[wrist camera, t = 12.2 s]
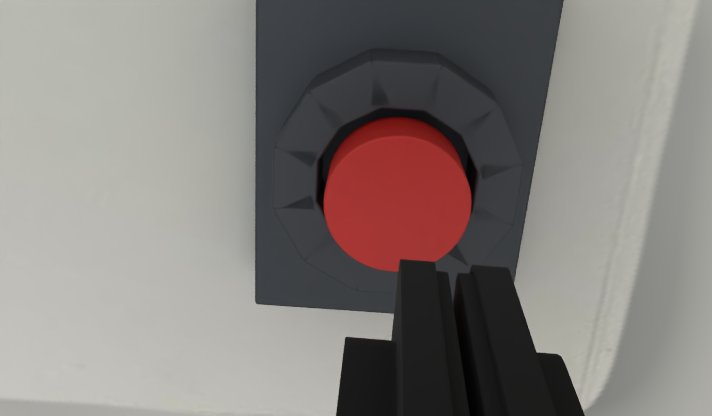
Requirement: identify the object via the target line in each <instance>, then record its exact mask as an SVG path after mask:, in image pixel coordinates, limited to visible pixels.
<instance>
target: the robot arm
mask: <svg viewBox="0 0 712 416" xmlns="http://www.w3.org/2000/svg"><path fill="white" fill-rule="evenodd" d="M336 416H585V415H584V413H583V410H582V407H581V405H580V402H579V399H578V397H577V394H576V392H575V389H574V386H573V384H572V381H571V379H570V376H569V373H568V371H567V368H566V365H565V363H564V361H563V359H562V357H561V356H559V355H558V354H548V353H536V350H535V347H534V344H533V341H532V338H531V335H530V331H529V328H528V325H527V322H526V319H525V316H524V313H523V310H522V307H521V304H520V301H519V298H518V295H517V292H516V289H515V286H514V282H513V279H512V276H511V273H510V270H509V268H508V267H496V266H484V265H472V266H471V268H470V272H469V273H458V274H457V277H456V283H455V290H454V298H453V301H452V294H451V288H450V281H449V275H448V272H444V271H436V265H435V262H433V261H420V260H407V259H400V262H399V270H398V279H397V290H396V300H395V310H394V320H393V330H392V341H389V340H377V339H365V338H352V337H346V338H345V345H344V353H343V362H342V370H341V379H340V387H339V396H338V404H337V413H336Z"/></svg>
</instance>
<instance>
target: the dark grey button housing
mask: <svg viewBox="0 0 712 416" xmlns="http://www.w3.org/2000/svg"><path fill="white" fill-rule="evenodd" d="M563 1H564V0H256V194H255V301H256V304H263V305H278V306H292V307H307V308H321V309H336V310H350V311H365V312H380V313H394V310H395V300H396V290H397V279H398V272H393V271H384V270H379V269H375V268H372V267H369V266H366V265H364V264H362V263H360V262H358V261H356V260H355V259H354V258H352V257H351V256H349V255H348V254H347V253H346V252H345V251H344V250H343V249H342V248H341V247H340V246H339V245H338V244H337V243H336V241H335V239H334V238H333V236H332V235H331V233H330V231H329V228H328V226H327V223H326V220H325V214H324V193H325V188H326V183H327V178H328V173H329V168H330V164H331V161H332V158H333V156H334V154H335V152H336V150H337V149H338V147H339V145H340V144H341V143H342V142H343V140H344V139H345V138H346V137H347V136H348V135H349V134H350V133H351V132H353V131H354V130H356V129H357V128H358V127H360V126H362V125H364V124H366V123H368V122H371V121H373V120H376V119H380V118H385V117H408V118H413V119H417V120H420V121H423V122H425V123H428V124H429V125H431V126H433V127H435V128H436V129H438V130H439V131H440V132H441V133H443V134H444V135H445V136H446V137H447V138H448V139H449V141H450V142H451V143H452V145H453V146H454V147H455V149H456V151H457V153H458V155H459V158H460V160H461V163H462V166H463V169H464V172H465V174H466V177H467V180H468V183H469V187H470V191H471V200H472V205H471V214H470V219H469V222H468V225H467V227H466V230H465V232H464V233H463V235H462V237H461V238H460V240H459V241H458V243H457V244H456V245H455V246H454V247H453V248H452V249H451V250H450V251H449V252H448V253H447V254H446V255H445V256H443V257H442V258H440V259H439V260H437V261H436V262H435V265H436V271H444V272H448V275H449V281H450V288H451V294H452V301H453V298H454V290H455V283H456V277H457V274H458V273H469V272H470V268H471V266H472V265H484V266H496V267H508V268H509V270H510V273H511V276H512V279H513V282H514V280H515V274H516V268H517V262H518V257H519V251H520V245H521V240H522V234H523V228H524V223H525V217H526V211H527V206H528V200H529V194H530V189H531V183H532V177H533V171H534V166H535V160H536V154H537V149H538V143H539V137H540V132H541V126H542V120H543V115H544V109H545V103H546V98H547V92H548V86H549V80H550V75H551V69H552V63H553V58H554V52H555V46H556V41H557V35H558V29H559V24H560V18H561V12H562V7H563Z"/></svg>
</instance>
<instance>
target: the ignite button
mask: <svg viewBox="0 0 712 416" xmlns="http://www.w3.org/2000/svg"><path fill="white" fill-rule="evenodd" d="M471 205H472V200H471V191H470V187H469V183H468V180H467V177H466V174H465V172H464V169H463V166H462V163H461V160H460V158H459V155H458V153H457V151H456V149H455V147H454V146H453V145H452V143H451V142H450V141H449V139H448V138H447V137H446V136H445V135H444V134H443V133H441V132H440V131H439V130H438V129H436V128H435V127H433V126H431V125H429V124H428V123H425V122H423V121H420V120H417V119H413V118H408V117H385V118H380V119H376V120H373V121H371V122H368V123H366V124H364V125H362V126H360V127H358V128H357V129H356V130H354V131H353V132H351V133H350V134H349V135H348V136H347V137H346V138H345V139H344V140H343V142H342V143H341V144H340V145H339V147H338V149H337V150H336V152H335V154H334V156H333V158H332V161H331V164H330V168H329V173H328V178H327V183H326V188H325V193H324V214H325V220H326V223H327V226H328V228H329V231H330V233H331V235H332V236H333V238H334V239H335V241H336V243H337V244H338V245H339V246H340V247H341V248H342V249H343V250H344V251H345V252H346V253H347V254H348V255H349V256H351V257H352V258H354V259H355V260H356V261H358V262H360V263H362V264H364V265H366V266H369V267H372V268H375V269H379V270H384V271H393V272H398V270H399V262H400V259H407V260H420V261H433V262H436V261H437V260H439V259H440V258H442V257H443V256H445V255H446V254H447V253H448V252H449V251H450V250H451V249H452V248H453V247H454V246H455V245H456V244H457V243H458V241H459V240H460V238H461V237H462V235H463V233H464V232H465V230H466V227H467V225H468V222H469V219H470V214H471Z"/></svg>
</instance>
